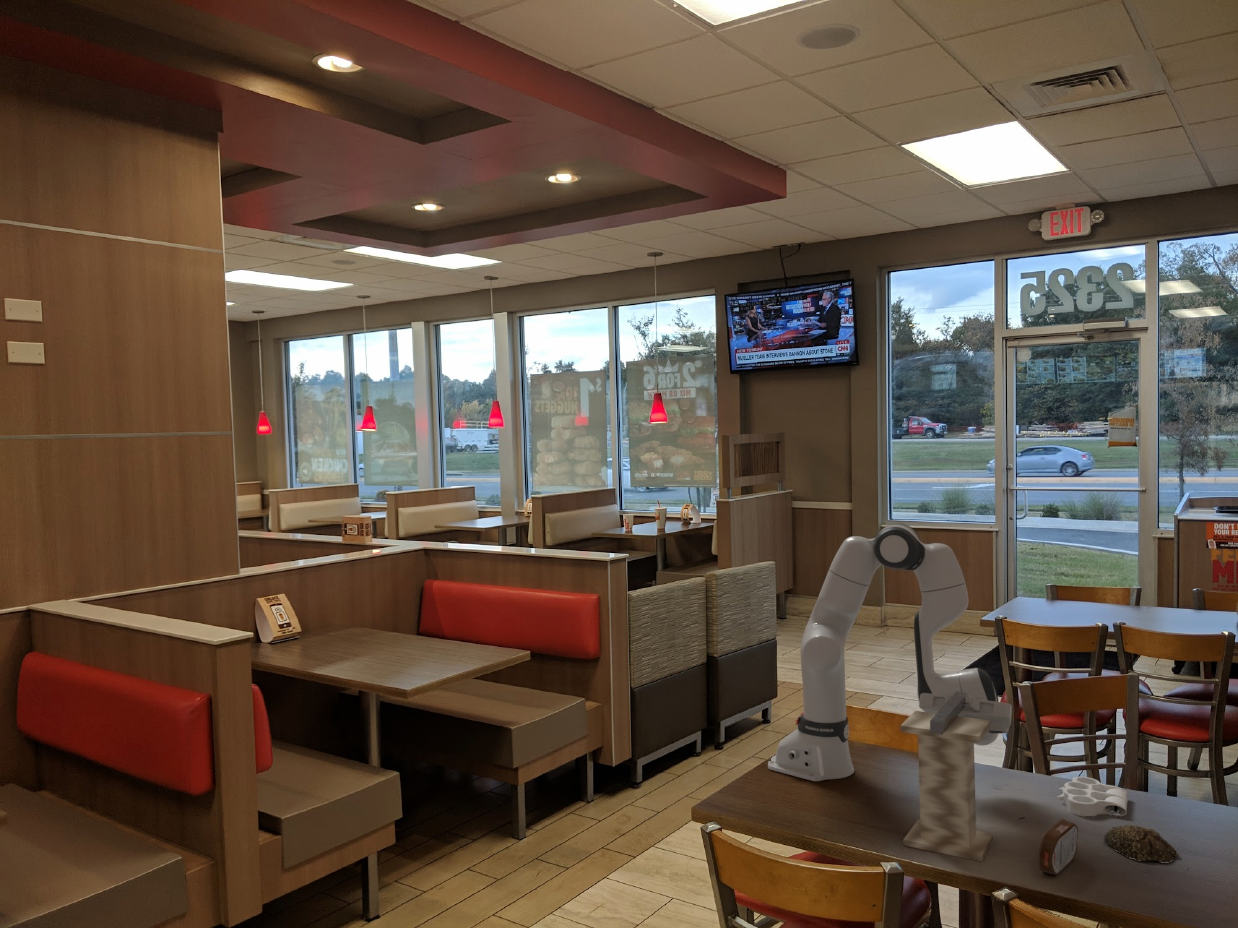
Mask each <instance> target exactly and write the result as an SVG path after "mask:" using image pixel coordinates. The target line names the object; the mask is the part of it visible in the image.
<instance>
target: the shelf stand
mask: <svg viewBox="0 0 1238 928" xmlns="http://www.w3.org/2000/svg"><path fill="white" fill-rule="evenodd" d="M936 714H937V713H929V712H924V711H921V710H915V711H913V712H912V713H911V715H910V716H908V717H907V718H906V719H905V720H904V721H903V723H901V724H900V726H899V727H900V733H906V734H913V735H917V743H918V744H917V746H918V747H917V749H918V782H919V783H918V784H919V785H918V786H919V790H918V791H919V793H918V794H919V818H920V819H919V818H918V819H917V821H916V822H915V823H914V824H913V826H912V827H911V829H909V831H908V833H907V834H906V835H905V837H903V841H902V842H903V846H906V847H910V848H914V849H915V848H916V849H920V850H925V851H930V852H934V853H939V854H944V855H948V856H954V857H958V858H963V859H968V860H973V861H978V862H982V861H984V858H985V856H986V855H987V853H988V850H989V848H990V846H991V845H992V843H993V841H994V833H992V832H991V833H990V832H986V831H982V830H981V831H980V830H977V816H976V815H977V813H976V810H977V809H976V807H977V806H976V773H975V771H976V770H975V767H976V766H975V765H976V764H975V744H974V743H979V742H980V741H981V740H982V738H983V737H984V735H985V734H986V733H987V731H988V730H989V728H990V727H991V720H983V719H976V718H968V717H960V716H957V717H956V719H955V720H954V721H953V722H952V724H951V725H950V726H949V727H948V729H947V730H946V731H945V732H944V733H943V735H942V734H935V733H930V720H931V719H932V718H933V717H934V716H935V715H936Z"/></svg>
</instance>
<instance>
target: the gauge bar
mask: <svg viewBox="0 0 1238 928" xmlns="http://www.w3.org/2000/svg"><path fill="white" fill-rule="evenodd" d="M965 697H968V695H967V693H965V692H955V693H954V694H953V696H952V697H951V698H950V699H949V700H948V701H947V702H946V703H945V705H944V706H943V707H942V708H941V709H940V710H939V711H938V712H937V714H936V715H935V716H934V717H933V718H932V719H931V720H930V733H935V734H942V735H943V733H944V732H945V731H946V730H947V729H948V727H949V726H950V725H951V724H952V722H953V721H954V720H955V719H956V717H957V716H958V715H959V714H960V712H961V711H962V710H963V709H964V708H965V704H964V701H965Z"/></svg>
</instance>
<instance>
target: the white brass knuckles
mask: <svg viewBox="0 0 1238 928" xmlns="http://www.w3.org/2000/svg"><path fill="white" fill-rule="evenodd" d="M1071 779H1072V781H1067V782H1065V783H1064V785H1063V787H1058V790H1060V791H1062V793H1061V794H1060V795H1058V796H1056V798H1057V799H1059V800H1060V801H1063V804H1064V805H1065V806H1066V807H1067V812H1069V813H1071V814H1073V815H1075V814H1076V815H1075V816H1079V817H1085V816H1092V817H1096V816H1098V815H1107V814H1109V816H1112V815H1111V814H1114V812H1111V811H1115V813H1116V810H1115V807H1116V806H1117V807H1116V808H1117V810H1119V812H1117V813H1119V814H1120V815H1117V816H1120V817H1124V816H1126V815H1127V811H1128V809H1127V808H1128V797H1129V795H1128V793H1129V792H1128V791H1126V790H1125V789H1124V788H1121V787H1118V786H1116V785H1111V784H1104V783H1102V782H1100V781H1099V780H1098V779H1095V778H1092V777H1088V776H1074V777H1072V778H1071ZM1113 806H1115V807H1113ZM1113 808H1114V809H1113ZM1097 814H1098V815H1097ZM1117 816H1116V817H1117Z"/></svg>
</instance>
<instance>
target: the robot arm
mask: <svg viewBox="0 0 1238 928" xmlns="http://www.w3.org/2000/svg"><path fill="white" fill-rule="evenodd" d="M881 566H884V567H886V568H888V569H892V570H902V571H911V572H912V571H913V573H914V575H915V577H916V579H917V582H918V586H919V590H920V594H921V606H920V609H919V610H918V611H917V612H916V613H915V614H914V619H913V637H914V649H915V661H916V673H917V685H916V686H917V687H916V688H917V689H916V692H917V693H916V695H917V699H918V706H919V708H920V709H921V710H922V712H929V713H937V712H938V711H939V710H940V709H941V708H942V707H943V706H944V705H945V703H946V702H947V701H948V700H949V699H950V698H951V697H952V696H953V694H954V693H955V692H965V693H967V695H968V697H965V701H964V704H965V708H964V709H963V710H962V711H961V712H960V714H959V715H958V716H960V717H968V718H976V719H983V720H991V727H990V728H989V730H988V731H987V733H986V734H985V735H984V737H983V738H982V740H981V741H980V742H979V743H974V745H978V746H988V745H991V744H992V743H994V742H995V741H996V740H997V738H998V736H999V734H1008V733H1009V730H1010V727H1011V724H1012V714H1013V713H1012V709H1013V707H1012V705H1011V703H1009V702H1003V701H999V697H998V692H997V688H996V685H995V684H994V682H993V680H992V678H991V676H990V674H988V673H987V672H986V671H985V670H983V669H982V668H980V667H974V668H973V667H972V668H967V669H960V670H957V671H949V672H943V673H937V672H936V671H935V669H934V668H935V667H934V656H933V655H934V654H933V639H934V637H935V635H936V634H937V633H938V632H940V631H941V630H943V629H945V628H946V627H948V626H949V625H951V624H953V623H954V622H955V621H958V619H960V618H961V617H962V616H963V615H964V613H966V611H967V609H968V608H969V607H968V606H969V602H970V601H969V592H968V588H967V584H966V579H965V577H964V573H963V569H962V568H961V566H960V563H959V561H958V559H957V557H956V555H955V553H954V551H953V549H952V547H950V546H949V545H948V544H945V543H940V542H935V543H934V542H933V543H923V542H922V541H921V539H920V536H919V534H918V533H917V531H916V530H915V529H914V528H912V527H911V526H910V525H908V524H904V523H892V524H889V525H887V526H885V527H884V528H882V529H881V530H880V531H879V533H877V534H876V535H875V536H873V537H872V538H866V537H864V536H860V535H859V536H857V535H853V536H852V535H851V536H849V537H847V538H845V540H843V542H842V544H840V547H839V548H838V550H837V551H836V554H835V556H834V557H833V560H832V562H831V564H830V566H829V569H828V571H827V573H826V577H825V579H824V581H823V583H822V586H821V589H820V592H819V595H818V597H817V600H816V602H815V604H814V607H813V609H812V612H811V613H810V616H809V619H808V621H807V624H806V627H805V629H804V631H803V635H802V640H801V643H800V665H801V668H800V669H801V678H802V679H801V680H802V696H803V697H802V699H803V700H802V703H803V705H802V706H803V711H802V712H801V713H800V714H799V715H800V716H798V717H797V718H796V720H795V721H794V722H795V724H794V725H795V726H796V725H797V728H796V729H794V730H793V731H791V732H790V733H789V734H787V735H786V736H785V737H784V738H782V739H781V740H780V741H779V743H778V745H777V749H776V753H775V755H773V756H772V757H771V758H770V759H771V761H769V760H768V762H767V768H768V770H770V771H774V772H777V773H778V772H779V773H781V774H784V775H785V774H786V775H790V776H793V777H796V778H801V779H805V780H808V781H811V782H821V781H825V780H837V779H838V780H839V779H843V778H847V777H849V776H850V777H851V775H853V774H854V772H855V768H854V765H853V763H852V762H853V761H852V759H851V753H850V748H849V741H848V740H849V736H850V728H849V727H850V725H849V718H848V716H847V702H846V699H847V698H846V697H847V694H846V690H847V689H846V674H845V673H846V672H845V671H846V668H845V647H846V646H845V645H846V642H847V639H848V637H849V635H850V632H851V630H852V628H853V625H854V624H855V621H856V619H857V617H858V616H859V613H860V610H861V608H862V607H863V603H864V601H865V599H866V598H865V597H866V596H867V592H868V591H869V589H870V586H871V583H872V580H873V577H874V575H875V573H876V571H877V570H878V569H879V567H881Z"/></svg>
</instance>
